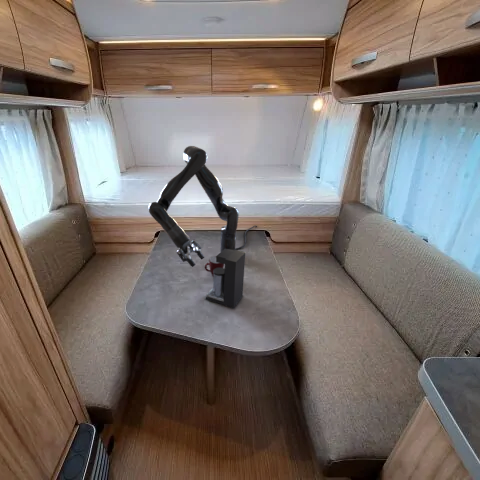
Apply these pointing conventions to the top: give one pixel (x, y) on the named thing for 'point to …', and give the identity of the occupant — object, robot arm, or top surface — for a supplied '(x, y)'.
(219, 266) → the mug
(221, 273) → the lidded canister
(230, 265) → the coffee maker
